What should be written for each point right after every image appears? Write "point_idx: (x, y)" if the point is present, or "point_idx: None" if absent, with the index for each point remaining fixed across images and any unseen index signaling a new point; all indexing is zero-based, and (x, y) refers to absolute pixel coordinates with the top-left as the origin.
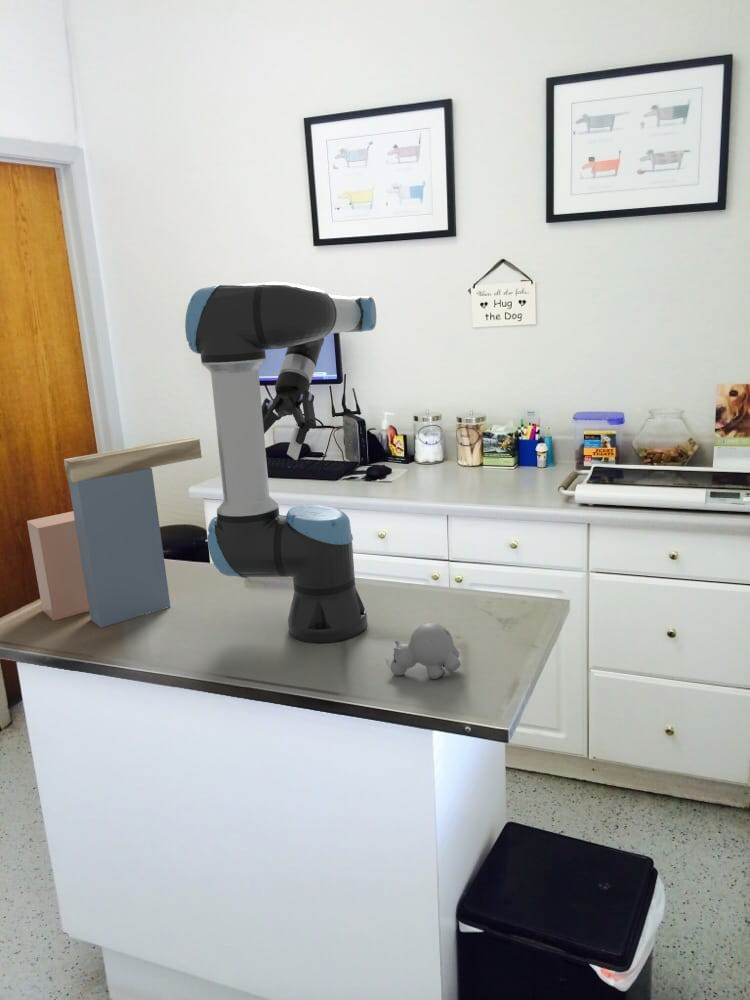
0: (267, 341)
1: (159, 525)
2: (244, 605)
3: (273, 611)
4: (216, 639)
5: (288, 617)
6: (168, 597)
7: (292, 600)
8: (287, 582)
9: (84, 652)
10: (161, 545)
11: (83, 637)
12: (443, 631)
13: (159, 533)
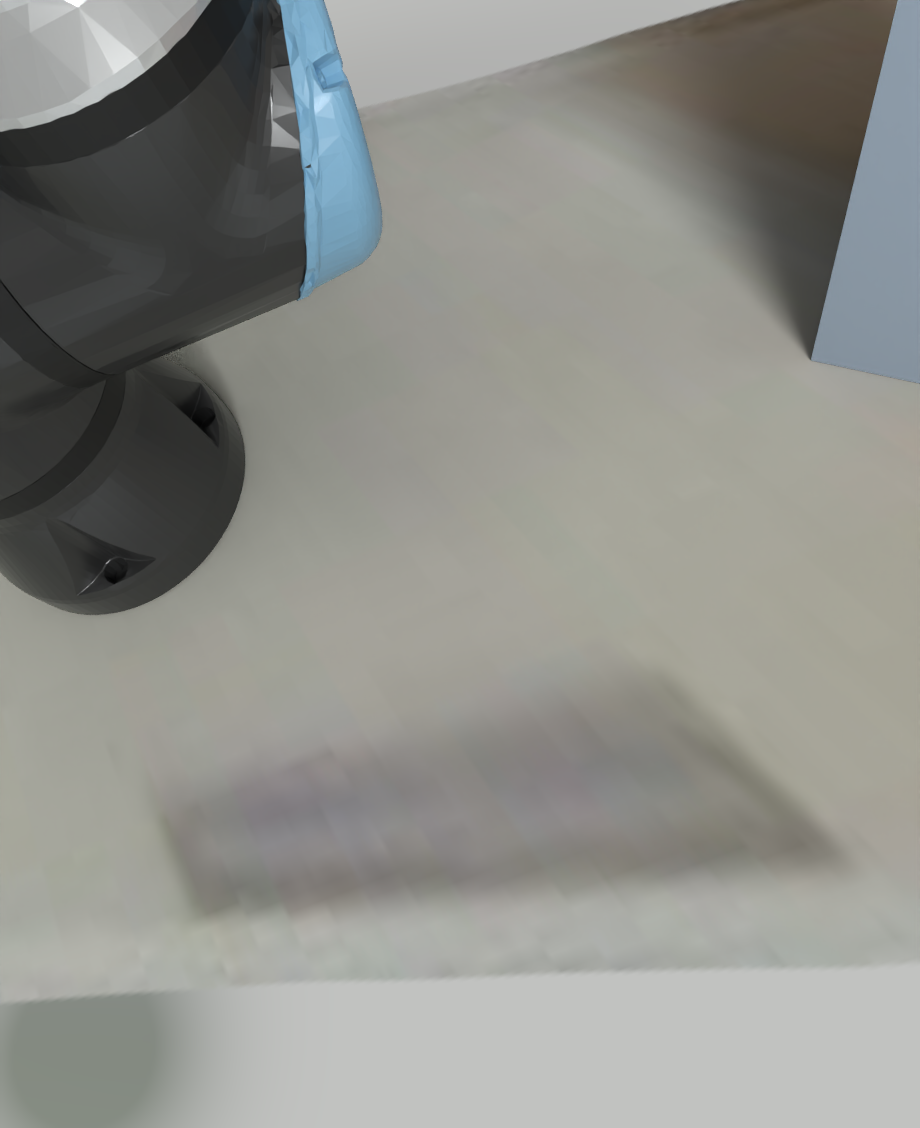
0: None
1: (896, 7)
2: (519, 507)
3: (370, 512)
4: (418, 270)
5: (207, 392)
6: (818, 329)
7: (155, 366)
8: (508, 811)
9: (750, 28)
10: (868, 124)
11: (870, 67)
12: None
13: (886, 52)
